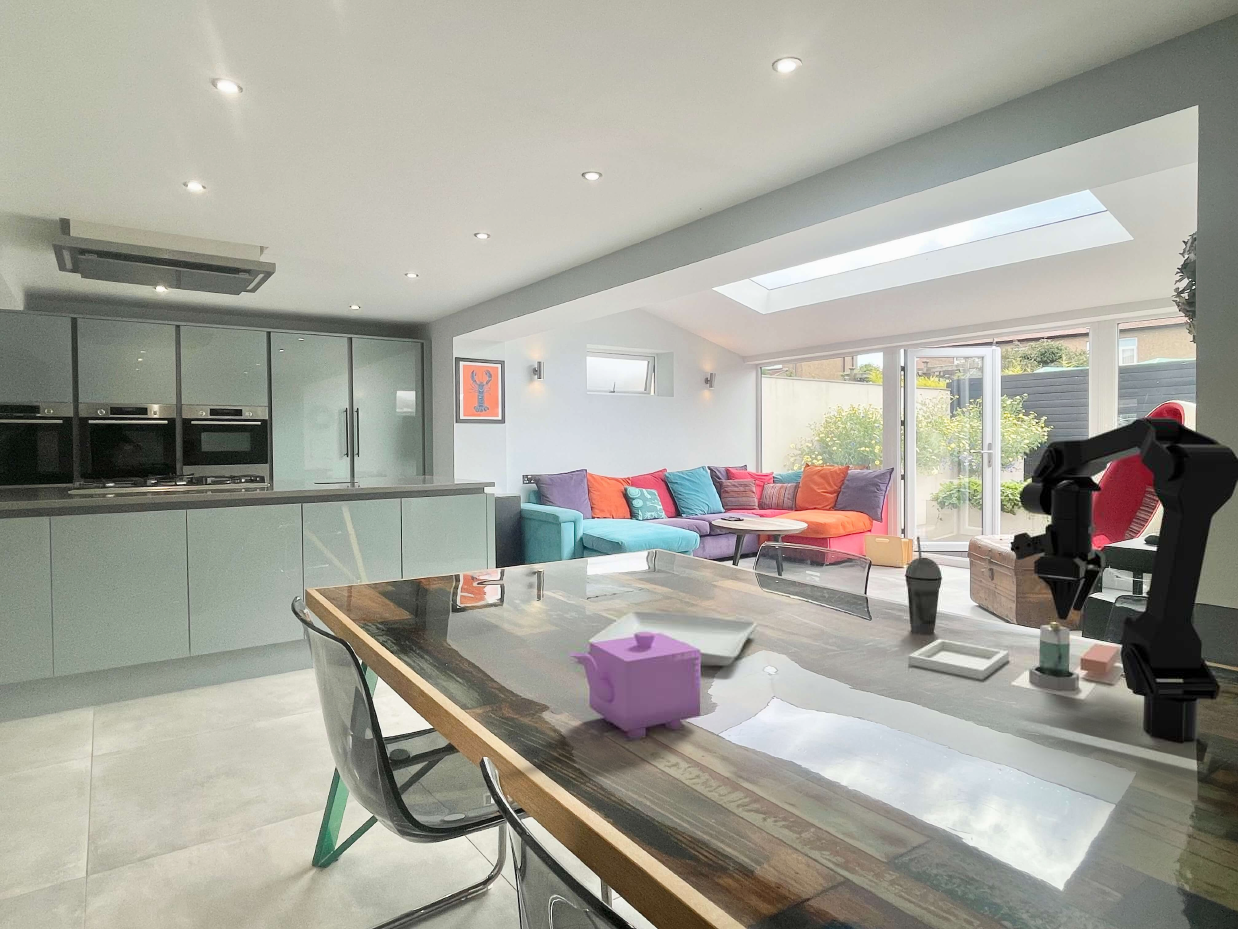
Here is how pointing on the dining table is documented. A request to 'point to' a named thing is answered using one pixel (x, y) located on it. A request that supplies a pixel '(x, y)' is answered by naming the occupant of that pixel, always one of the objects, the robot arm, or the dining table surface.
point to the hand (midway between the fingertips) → (1070, 614)
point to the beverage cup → (923, 593)
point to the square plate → (686, 633)
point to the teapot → (643, 681)
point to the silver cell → (1054, 650)
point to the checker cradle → (1067, 681)
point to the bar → (1099, 658)
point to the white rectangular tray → (959, 658)
